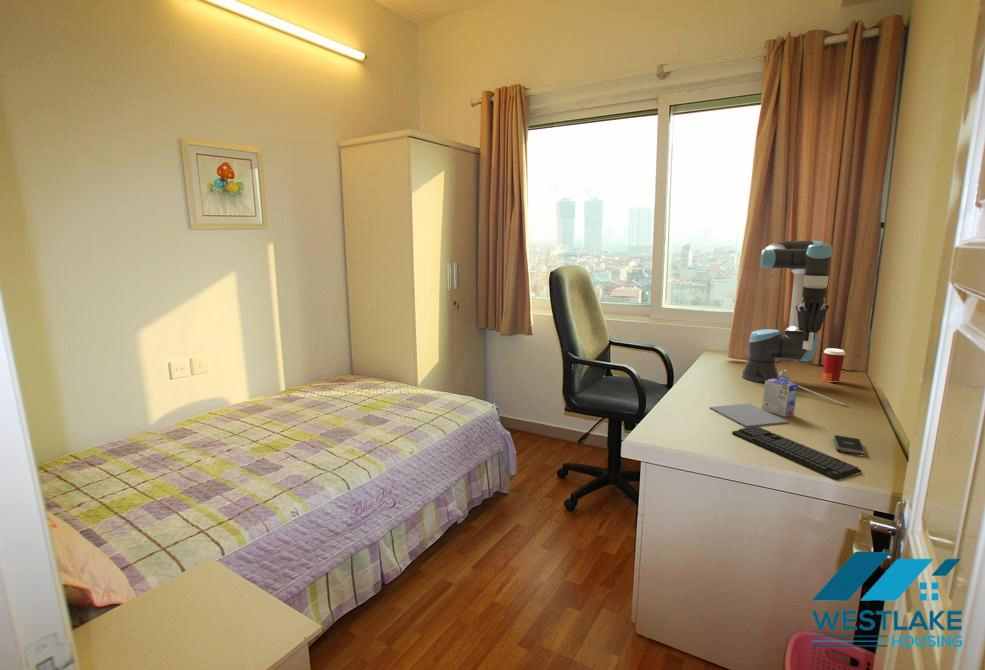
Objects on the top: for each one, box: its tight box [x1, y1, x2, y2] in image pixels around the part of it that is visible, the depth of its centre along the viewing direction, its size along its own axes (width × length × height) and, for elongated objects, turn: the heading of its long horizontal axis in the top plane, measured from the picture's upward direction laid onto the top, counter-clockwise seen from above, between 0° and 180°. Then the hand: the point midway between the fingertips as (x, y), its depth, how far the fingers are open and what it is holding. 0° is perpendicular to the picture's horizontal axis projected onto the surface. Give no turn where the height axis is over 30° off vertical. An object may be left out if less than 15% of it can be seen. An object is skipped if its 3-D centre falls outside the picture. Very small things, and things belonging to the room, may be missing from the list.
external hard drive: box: [833, 434, 866, 456], centre depth 157 cm, size 7×11×2 cm, turn 151°
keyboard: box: [731, 426, 862, 481], centre depth 154 cm, size 35×11×2 cm, turn 22°
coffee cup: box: [822, 347, 846, 382], centre depth 225 cm, size 8×8×15 cm
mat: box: [709, 403, 790, 428], centre depth 185 cm, size 18×20×1 cm
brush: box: [778, 369, 846, 406], centre depth 203 cm, size 4×28×9 cm, turn 31°
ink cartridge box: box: [761, 374, 799, 418], centre depth 187 cm, size 10×6×14 cm, turn 27°
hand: (807, 349), depth 185 cm, fingers closed
